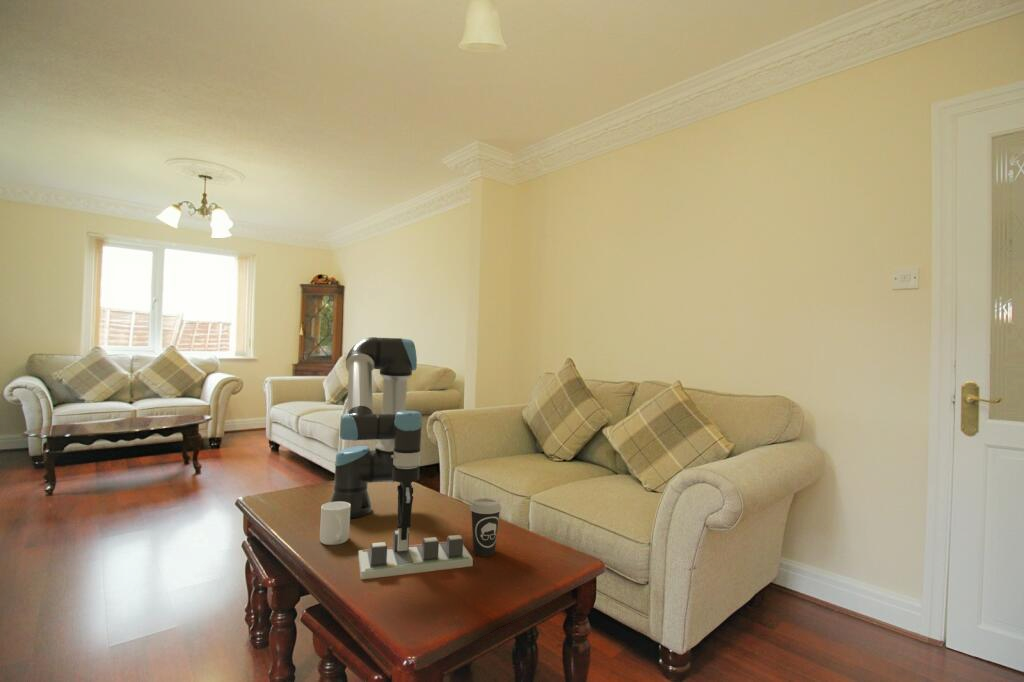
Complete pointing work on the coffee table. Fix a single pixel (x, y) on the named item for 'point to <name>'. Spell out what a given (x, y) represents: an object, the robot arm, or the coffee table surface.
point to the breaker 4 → (454, 545)
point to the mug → (335, 523)
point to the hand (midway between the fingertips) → (402, 549)
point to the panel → (411, 562)
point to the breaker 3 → (430, 548)
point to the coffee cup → (485, 525)
